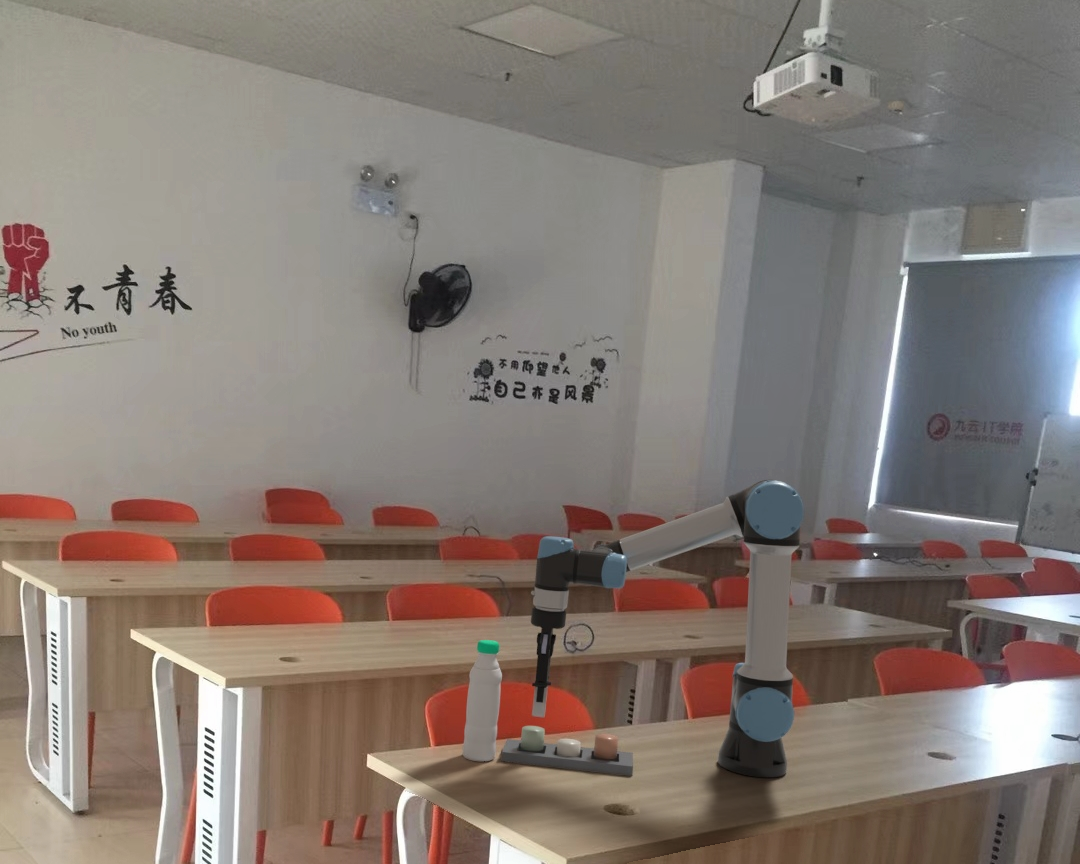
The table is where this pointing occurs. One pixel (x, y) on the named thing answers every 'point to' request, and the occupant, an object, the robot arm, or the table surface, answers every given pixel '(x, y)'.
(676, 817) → the table surface
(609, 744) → the button terracotta
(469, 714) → the water bottle
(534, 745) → the button sage
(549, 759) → the panel
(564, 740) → the button ivory
